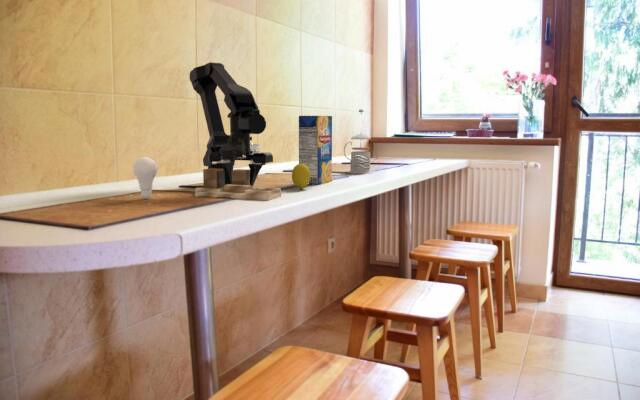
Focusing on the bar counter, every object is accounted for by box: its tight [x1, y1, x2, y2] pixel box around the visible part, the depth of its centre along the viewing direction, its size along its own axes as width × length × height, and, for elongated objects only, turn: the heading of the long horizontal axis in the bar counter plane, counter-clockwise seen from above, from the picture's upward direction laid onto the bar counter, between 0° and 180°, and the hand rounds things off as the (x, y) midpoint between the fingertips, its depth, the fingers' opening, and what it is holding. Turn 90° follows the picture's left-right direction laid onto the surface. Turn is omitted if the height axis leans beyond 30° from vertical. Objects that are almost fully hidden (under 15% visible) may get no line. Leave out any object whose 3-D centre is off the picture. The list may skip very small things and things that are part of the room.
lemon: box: [291, 162, 310, 190], centre depth 164 cm, size 6×6×8 cm
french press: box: [343, 108, 373, 175], centre depth 218 cm, size 10×12×25 cm
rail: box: [194, 168, 282, 201], centre depth 148 cm, size 22×8×7 cm, turn 70°
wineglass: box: [249, 143, 261, 179], centre depth 198 cm, size 7×7×12 cm
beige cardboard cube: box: [232, 168, 250, 185], centre depth 163 cm, size 5×4×6 cm
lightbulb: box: [132, 156, 158, 200], centre depth 143 cm, size 6×6×11 cm
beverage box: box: [298, 115, 333, 186], centre depth 181 cm, size 7×11×22 cm, turn 154°
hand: (241, 186), depth 163 cm, fingers open, 7 cm apart
